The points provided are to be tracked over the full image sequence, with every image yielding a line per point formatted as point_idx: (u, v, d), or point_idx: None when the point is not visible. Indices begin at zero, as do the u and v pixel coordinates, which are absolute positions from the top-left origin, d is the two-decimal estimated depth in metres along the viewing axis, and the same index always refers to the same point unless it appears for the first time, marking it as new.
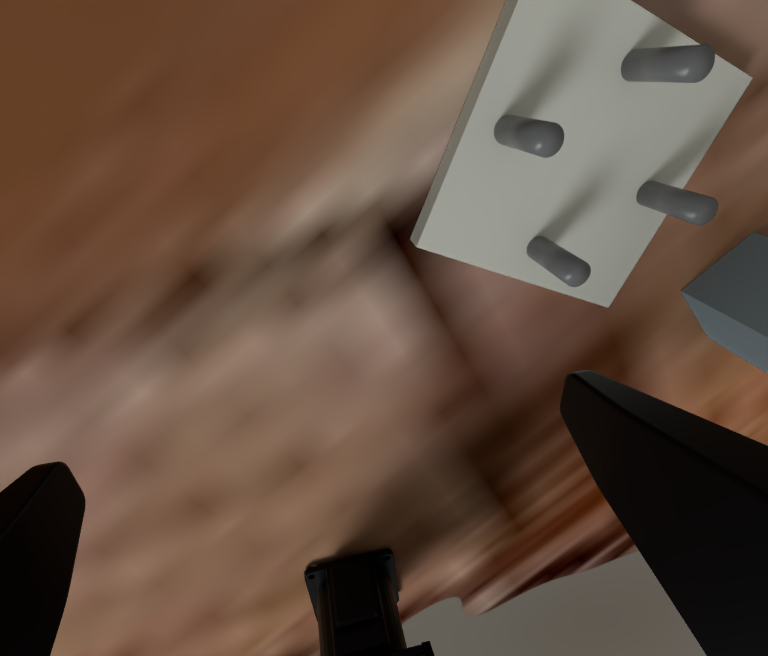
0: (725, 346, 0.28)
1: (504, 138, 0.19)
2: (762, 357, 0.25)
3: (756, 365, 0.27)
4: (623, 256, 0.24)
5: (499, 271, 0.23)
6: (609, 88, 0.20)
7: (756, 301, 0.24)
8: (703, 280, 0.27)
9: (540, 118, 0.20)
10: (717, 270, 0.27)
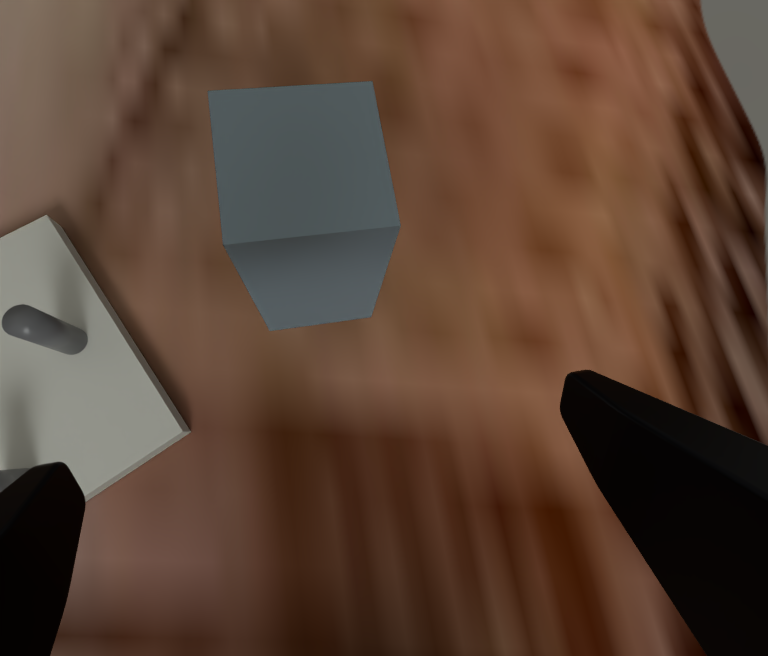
0: (367, 309, 0.21)
1: None
2: (330, 293, 0.18)
3: (372, 295, 0.19)
4: (127, 390, 0.20)
5: None
6: None
7: None
8: None
9: None
10: None
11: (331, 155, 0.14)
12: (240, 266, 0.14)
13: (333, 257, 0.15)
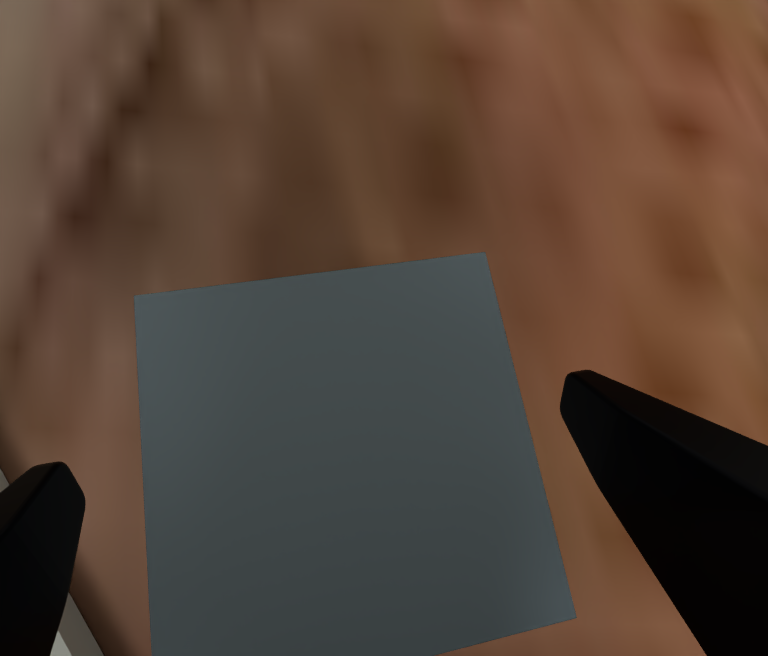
0: None
1: None
2: None
3: None
4: None
5: None
6: None
7: None
8: None
9: None
10: None
11: (411, 439, 0.06)
12: None
13: None
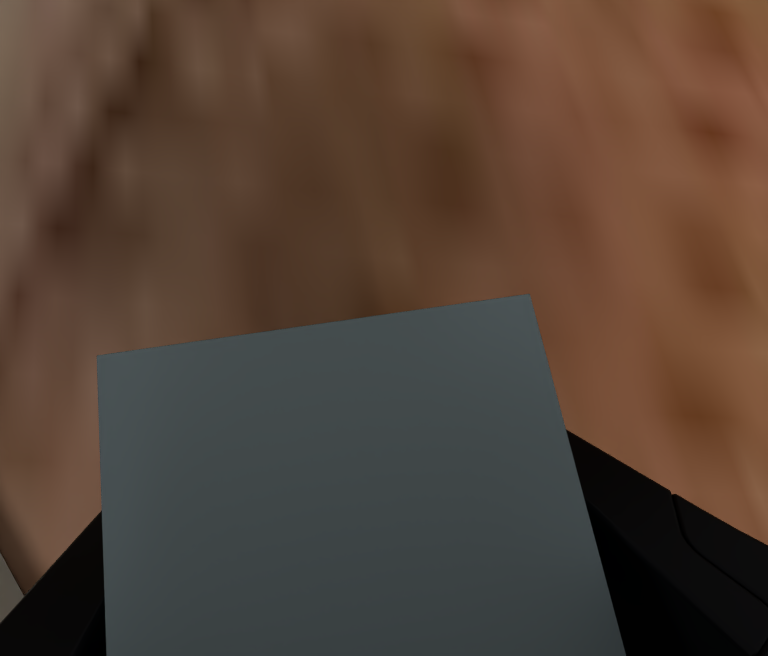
0: None
1: None
2: None
3: None
4: None
5: None
6: None
7: None
8: None
9: None
10: None
11: (443, 536, 0.05)
12: None
13: None
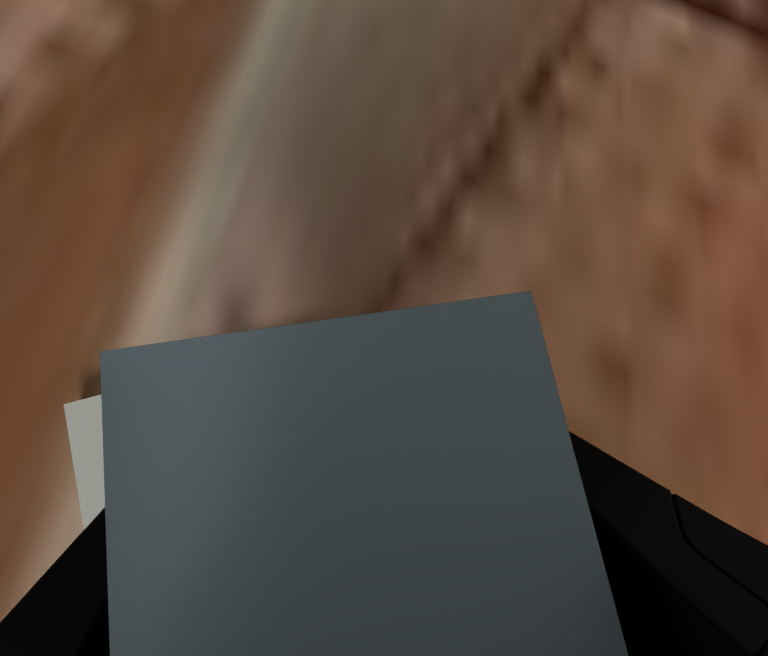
0: None
1: None
2: None
3: None
4: None
5: None
6: None
7: None
8: None
9: None
10: None
11: (446, 532, 0.05)
12: None
13: None
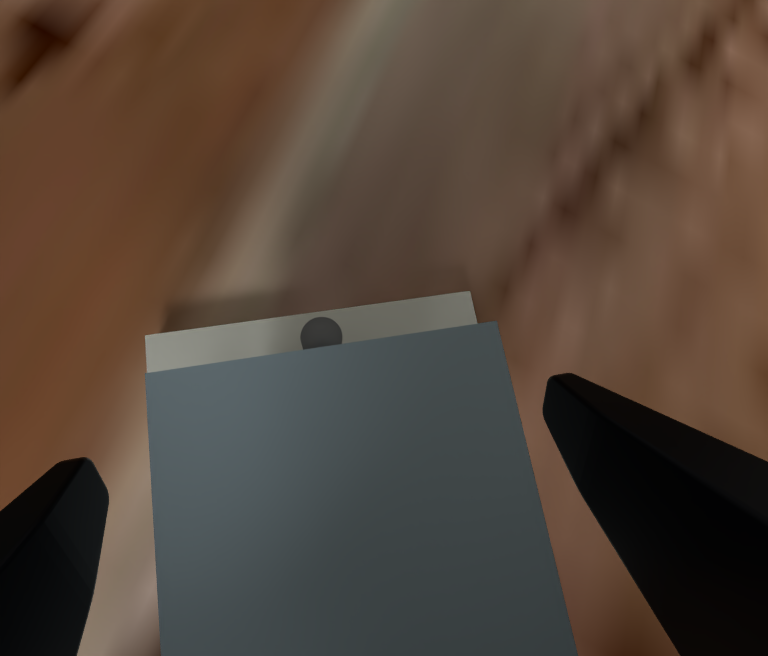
0: None
1: None
2: None
3: None
4: None
5: None
6: None
7: None
8: None
9: None
10: None
11: (422, 518, 0.06)
12: None
13: None
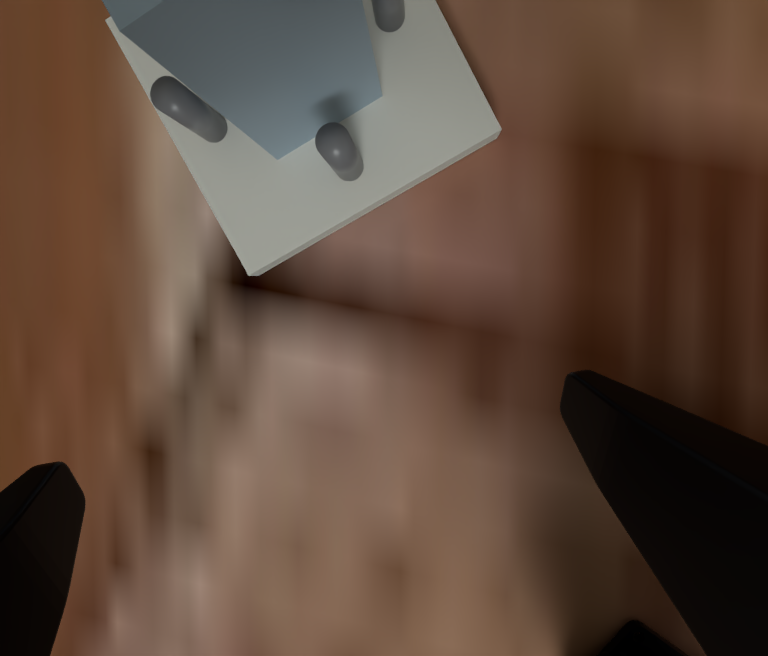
0: (372, 84, 0.17)
1: (198, 134, 0.18)
2: (312, 72, 0.14)
3: (365, 56, 0.15)
4: (445, 78, 0.18)
5: (340, 219, 0.19)
6: None
7: None
8: None
9: None
10: None
11: None
12: (171, 65, 0.11)
13: None
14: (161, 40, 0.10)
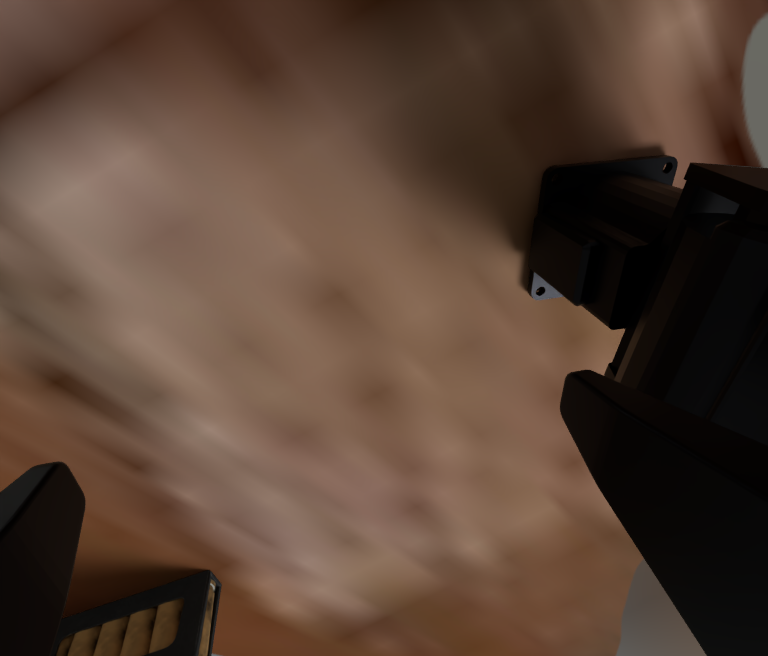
0: None
1: None
2: None
3: None
4: None
5: None
6: None
7: None
8: None
9: None
10: None
11: None
12: None
13: None
14: None
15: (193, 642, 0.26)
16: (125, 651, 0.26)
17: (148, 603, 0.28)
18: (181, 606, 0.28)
